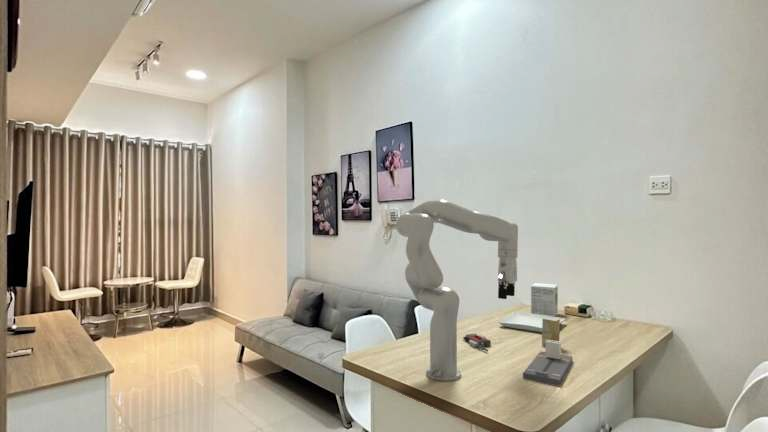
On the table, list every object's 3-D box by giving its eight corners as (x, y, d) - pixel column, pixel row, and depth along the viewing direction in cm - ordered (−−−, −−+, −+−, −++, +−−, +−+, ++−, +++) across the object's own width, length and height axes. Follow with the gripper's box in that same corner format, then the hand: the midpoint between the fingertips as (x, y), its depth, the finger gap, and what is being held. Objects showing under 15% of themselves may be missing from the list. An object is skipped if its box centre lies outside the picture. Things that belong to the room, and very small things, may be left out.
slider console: (559, 386, 137) (559, 377, 137) (523, 378, 143) (523, 369, 143) (572, 361, 160) (572, 353, 160) (540, 356, 167) (540, 348, 167)
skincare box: (541, 346, 180) (541, 318, 180) (545, 343, 184) (545, 316, 184) (556, 349, 176) (556, 320, 176) (560, 346, 179) (560, 318, 179)
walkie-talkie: (459, 341, 189) (485, 354, 170) (459, 331, 189) (485, 343, 170) (474, 339, 192) (502, 352, 174) (475, 329, 192) (502, 341, 174)
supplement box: (555, 318, 231) (554, 287, 231) (530, 315, 238) (530, 285, 238) (558, 313, 242) (558, 284, 243) (535, 311, 249) (534, 282, 249)
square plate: (515, 317, 234) (515, 311, 234) (566, 325, 218) (566, 317, 218) (498, 328, 212) (498, 320, 212) (553, 336, 196) (553, 328, 196)
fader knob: (559, 359, 156) (559, 343, 156) (545, 356, 159) (545, 341, 159) (560, 357, 159) (560, 341, 159) (547, 354, 161) (547, 339, 161)
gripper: (510, 255, 153) (509, 301, 153) (523, 253, 167) (522, 295, 167) (490, 254, 157) (489, 298, 157) (505, 252, 172) (504, 293, 171)
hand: (506, 297), depth 162 cm, fingers open, 9 cm apart
